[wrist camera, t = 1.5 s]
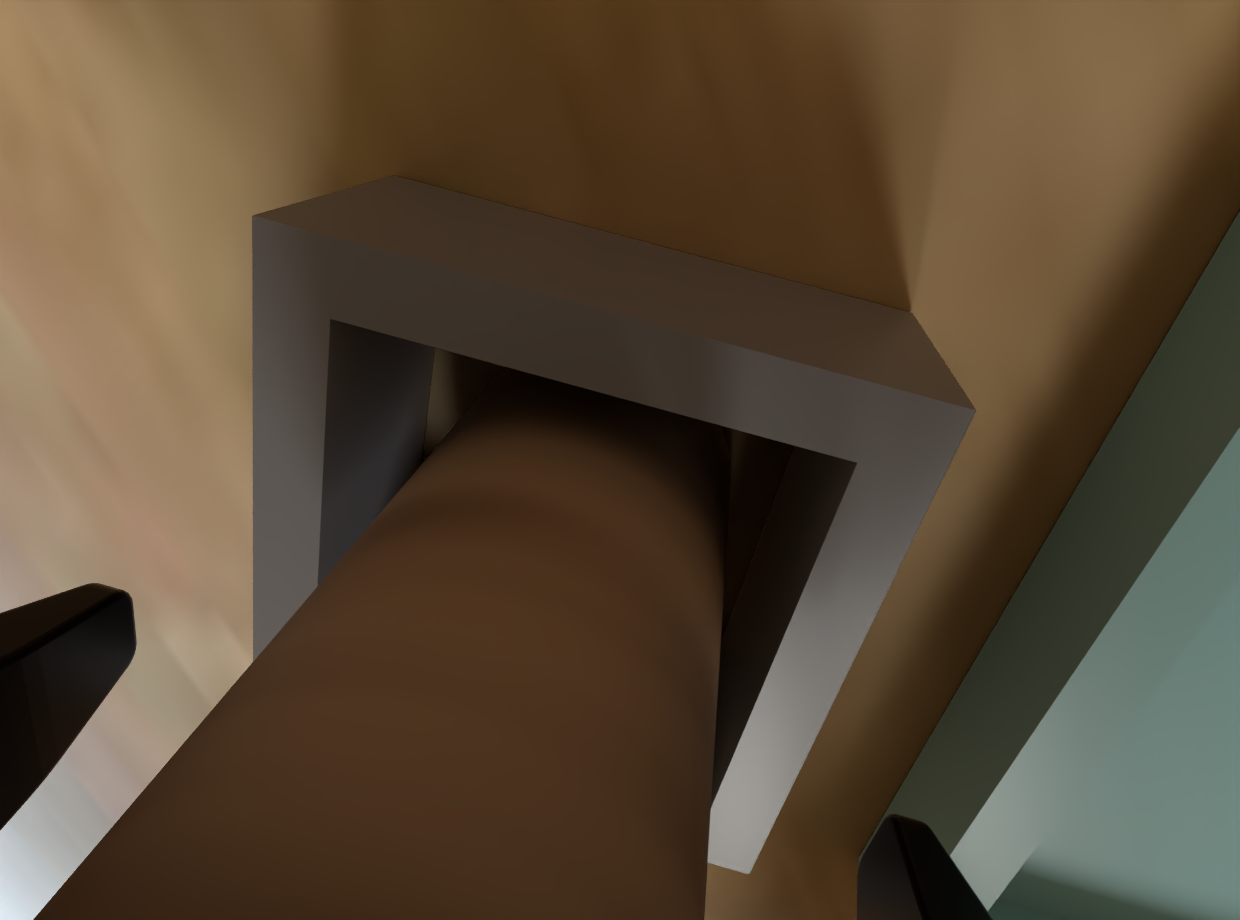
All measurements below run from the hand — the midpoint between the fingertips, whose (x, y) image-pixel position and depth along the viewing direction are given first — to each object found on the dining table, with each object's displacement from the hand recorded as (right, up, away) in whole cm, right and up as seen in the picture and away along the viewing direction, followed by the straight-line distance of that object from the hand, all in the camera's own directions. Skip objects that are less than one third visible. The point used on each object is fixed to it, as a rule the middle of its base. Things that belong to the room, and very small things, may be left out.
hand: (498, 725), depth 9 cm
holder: (+1, +3, +6) cm, 6 cm away
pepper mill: (+1, +3, +6) cm, 6 cm away
